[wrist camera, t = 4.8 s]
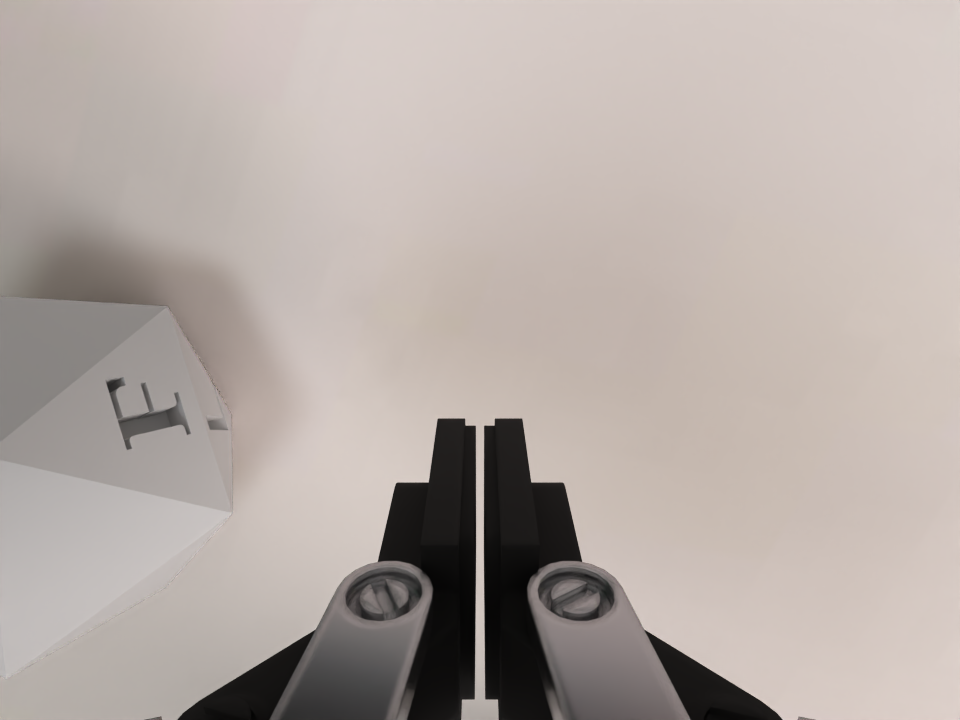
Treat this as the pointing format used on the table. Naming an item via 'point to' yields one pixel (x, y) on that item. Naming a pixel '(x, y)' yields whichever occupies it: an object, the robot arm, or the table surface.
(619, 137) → the table surface
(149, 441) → the die
